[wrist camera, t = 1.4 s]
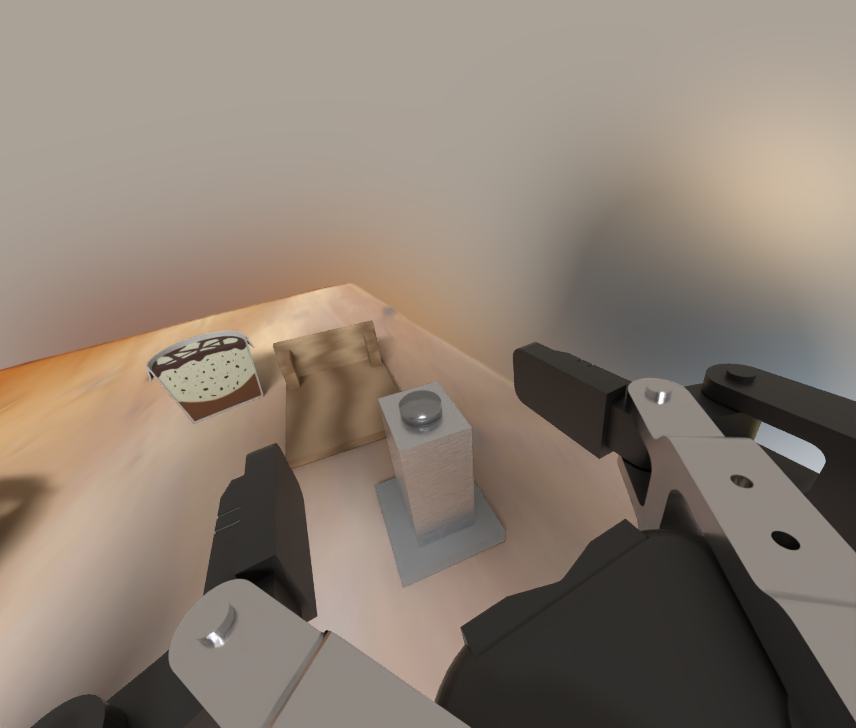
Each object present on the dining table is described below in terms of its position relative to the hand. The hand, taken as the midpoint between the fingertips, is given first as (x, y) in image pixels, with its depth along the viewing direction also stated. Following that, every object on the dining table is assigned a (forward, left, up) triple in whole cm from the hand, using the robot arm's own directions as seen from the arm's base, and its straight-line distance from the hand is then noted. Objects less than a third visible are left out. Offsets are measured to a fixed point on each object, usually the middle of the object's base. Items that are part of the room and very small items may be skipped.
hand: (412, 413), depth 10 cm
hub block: (+3, +10, -19) cm, 22 cm away
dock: (-3, +31, -21) cm, 37 cm away
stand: (+3, +10, -21) cm, 23 cm away
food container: (-19, +41, -21) cm, 50 cm away
